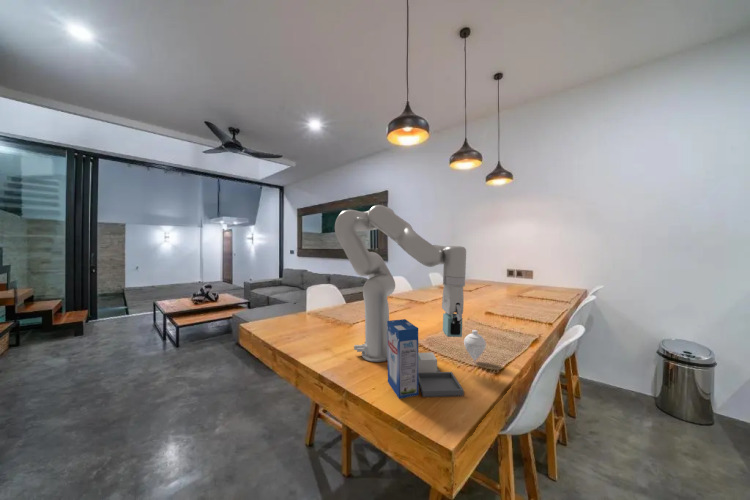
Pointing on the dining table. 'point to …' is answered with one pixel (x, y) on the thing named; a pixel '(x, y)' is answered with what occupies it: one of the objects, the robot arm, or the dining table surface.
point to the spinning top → (474, 344)
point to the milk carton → (403, 358)
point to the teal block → (449, 325)
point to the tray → (439, 385)
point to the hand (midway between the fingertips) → (452, 330)
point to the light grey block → (427, 363)
